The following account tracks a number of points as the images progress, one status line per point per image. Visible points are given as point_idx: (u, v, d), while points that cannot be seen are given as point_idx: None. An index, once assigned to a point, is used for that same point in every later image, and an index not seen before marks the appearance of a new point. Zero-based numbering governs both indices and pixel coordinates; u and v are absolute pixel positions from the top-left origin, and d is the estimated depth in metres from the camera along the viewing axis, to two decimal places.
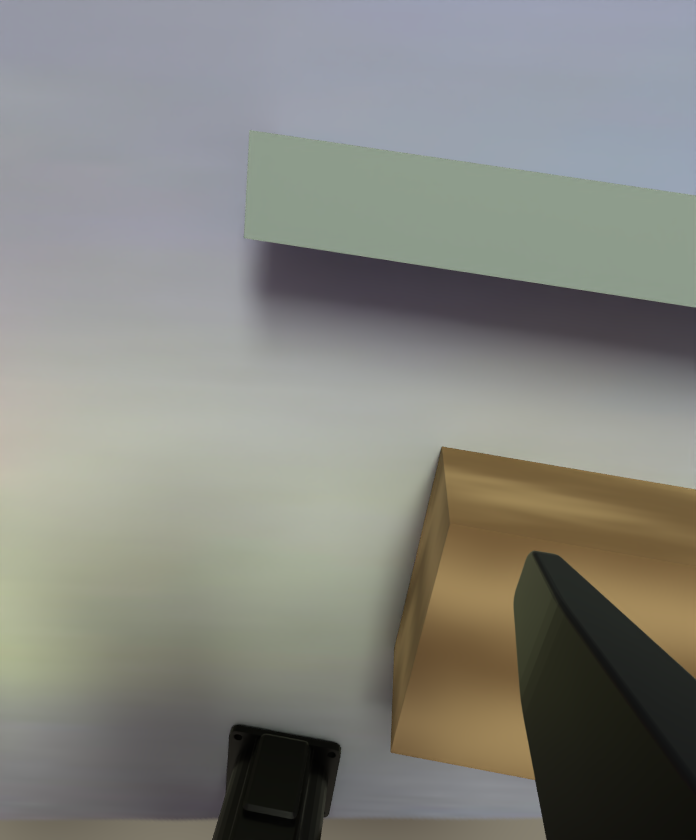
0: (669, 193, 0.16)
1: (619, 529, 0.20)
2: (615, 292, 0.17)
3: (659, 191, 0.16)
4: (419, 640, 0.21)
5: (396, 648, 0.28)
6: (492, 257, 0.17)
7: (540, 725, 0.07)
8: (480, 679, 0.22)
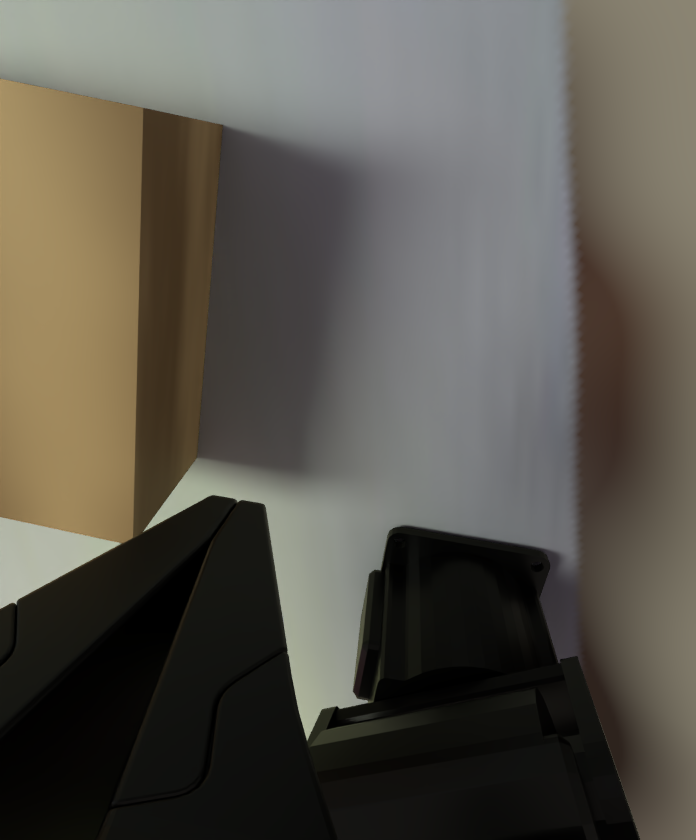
0: None
1: None
2: None
3: None
4: None
5: None
6: None
7: None
8: None
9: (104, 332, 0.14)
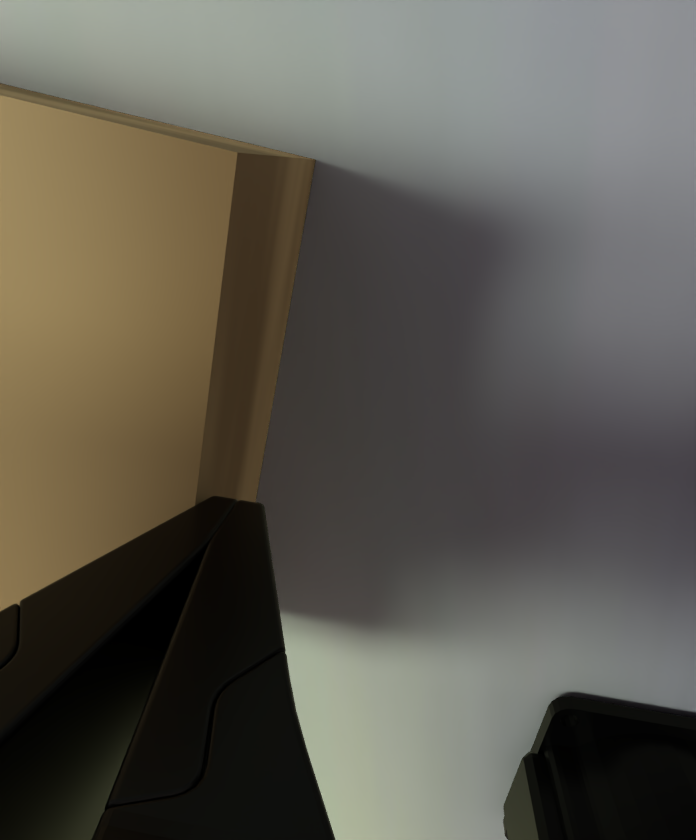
0: None
1: None
2: None
3: None
4: None
5: None
6: None
7: None
8: None
9: (134, 522, 0.08)
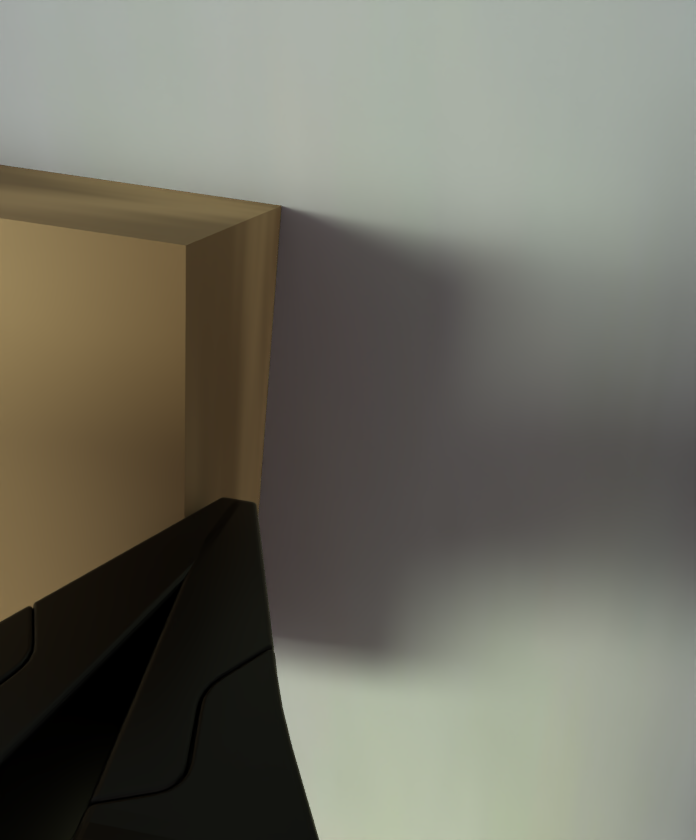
0: None
1: None
2: None
3: None
4: None
5: None
6: None
7: None
8: None
9: None
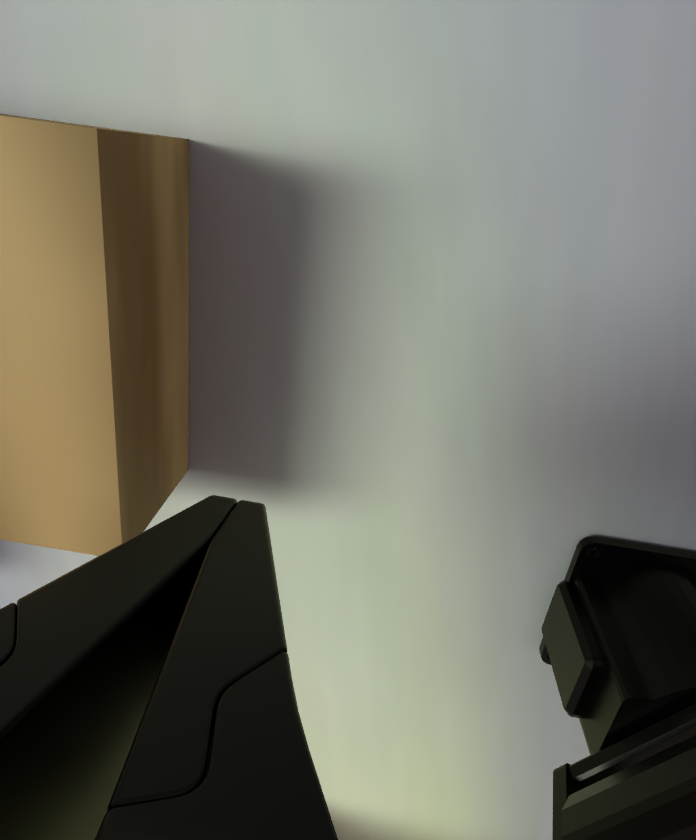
0: None
1: None
2: None
3: None
4: None
5: None
6: None
7: None
8: None
9: (77, 351, 0.15)
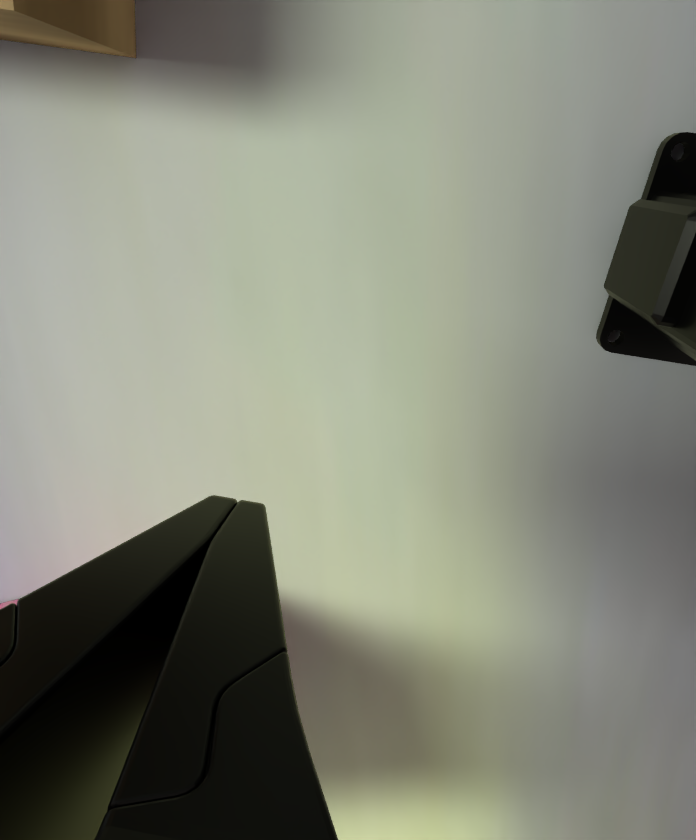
0: None
1: None
2: None
3: None
4: None
5: (97, 50, 0.16)
6: None
7: None
8: None
9: None
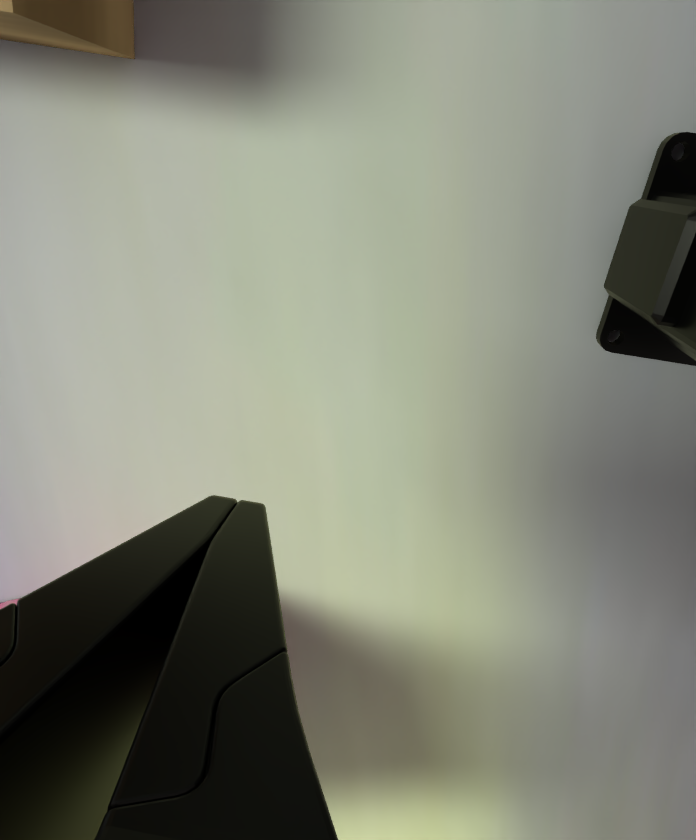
0: None
1: None
2: None
3: None
4: None
5: (96, 51, 0.16)
6: None
7: None
8: None
9: None
